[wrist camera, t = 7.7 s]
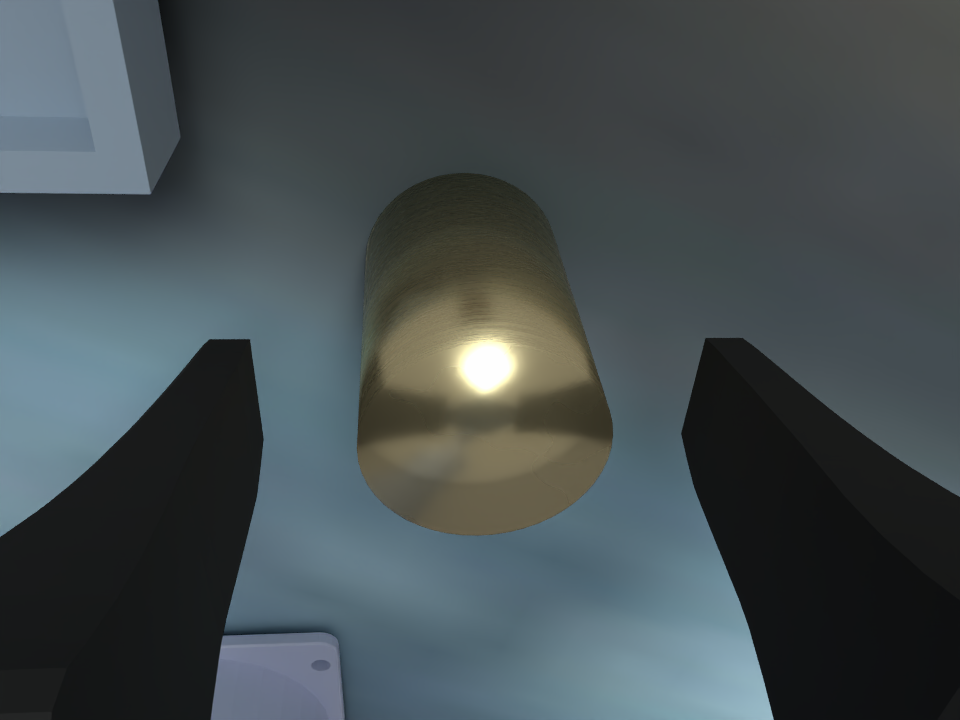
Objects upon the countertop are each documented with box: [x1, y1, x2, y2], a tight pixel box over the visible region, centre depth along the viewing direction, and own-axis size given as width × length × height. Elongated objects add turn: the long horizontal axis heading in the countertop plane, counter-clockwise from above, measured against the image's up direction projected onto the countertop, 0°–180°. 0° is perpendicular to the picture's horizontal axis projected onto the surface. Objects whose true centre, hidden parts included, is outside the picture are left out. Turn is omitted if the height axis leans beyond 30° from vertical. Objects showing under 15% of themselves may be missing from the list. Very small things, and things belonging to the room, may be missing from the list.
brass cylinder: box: [357, 173, 613, 535], centre depth 15 cm, size 4×4×6 cm
